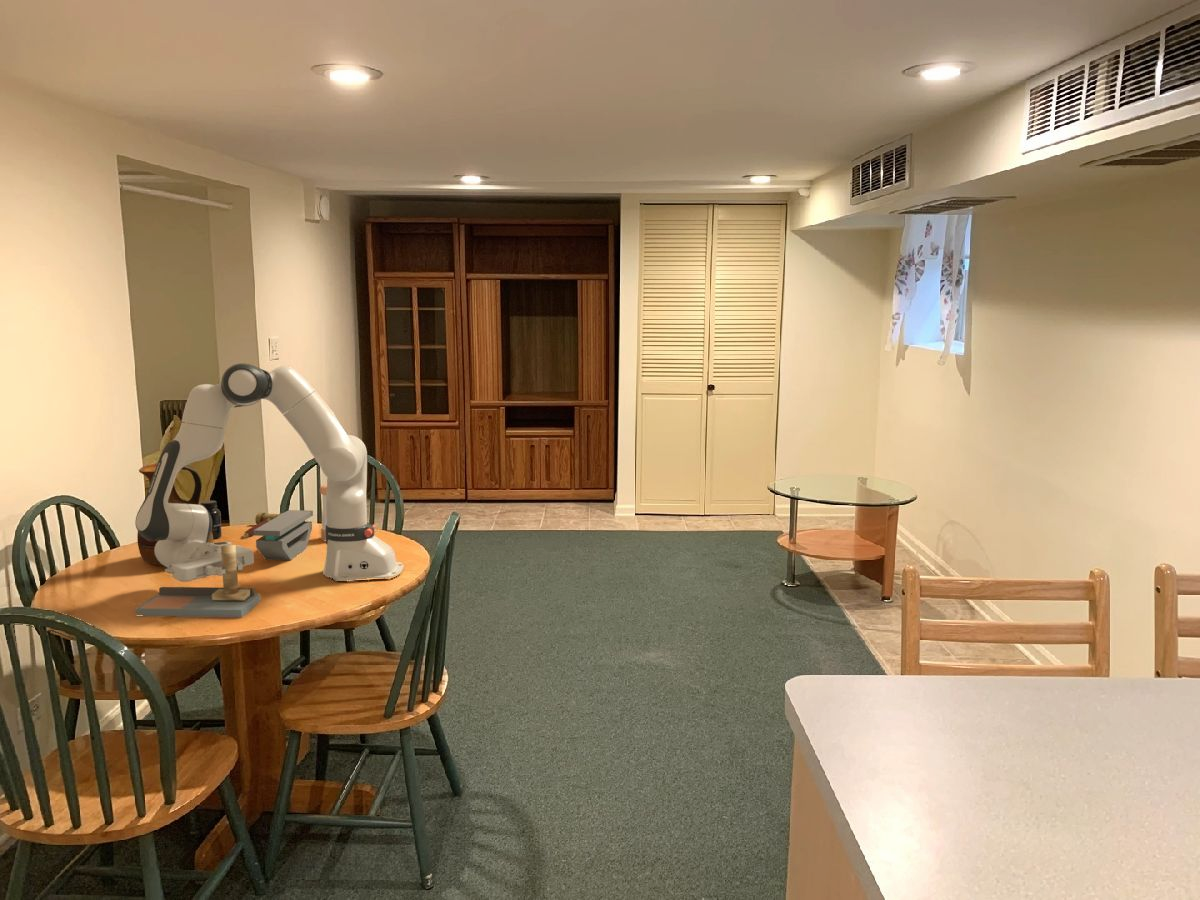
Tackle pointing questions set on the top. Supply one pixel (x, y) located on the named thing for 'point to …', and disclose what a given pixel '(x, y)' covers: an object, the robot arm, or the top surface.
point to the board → (195, 603)
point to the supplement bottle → (214, 517)
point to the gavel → (260, 522)
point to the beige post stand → (230, 577)
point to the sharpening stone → (284, 535)
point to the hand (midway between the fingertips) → (231, 569)
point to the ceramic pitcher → (149, 546)
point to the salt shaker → (324, 515)
